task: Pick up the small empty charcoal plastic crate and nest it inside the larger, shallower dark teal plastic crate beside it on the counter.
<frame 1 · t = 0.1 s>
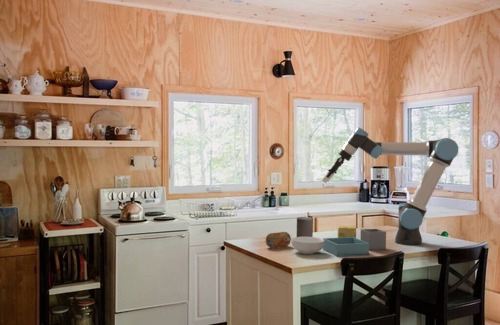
hand: (325, 181, 282), 36 cm above the table, tool tilted 35°, fingers open, 13 cm apart
tin: (278, 247, 268), on the table
cheese: (346, 244, 279), on the table
cereal bowl: (307, 253, 254), on the table
pillar candle: (304, 241, 287), on the table
teal crate: (345, 252, 256), on the table
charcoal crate: (373, 248, 266), on the table
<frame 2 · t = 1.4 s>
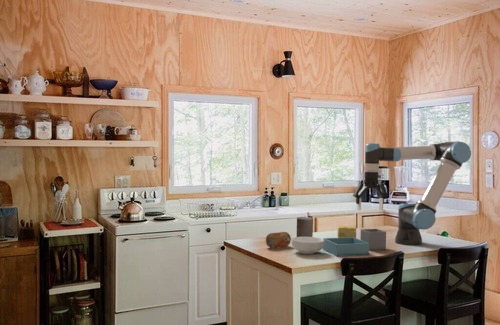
hand: (370, 210, 266), 21 cm above the table, tool pointing down, fingers open, 13 cm apart
nothing on the table moved.
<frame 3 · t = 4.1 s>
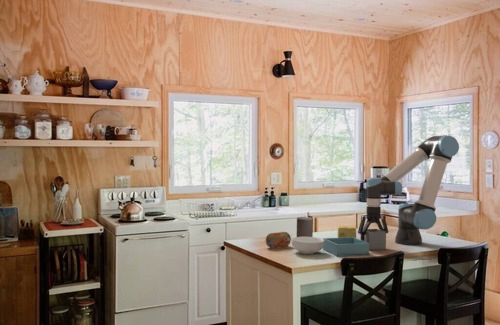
hand: (373, 246, 266), 1 cm above the table, tool pointing down, fingers closed on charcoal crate, 10 cm apart
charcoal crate: (372, 248, 266), on the table, touching gripper
everything else where it was.
when the fingers open (4 cm above the table, at t = 11.0 s): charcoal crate drops 1 cm, resting on teal crate.
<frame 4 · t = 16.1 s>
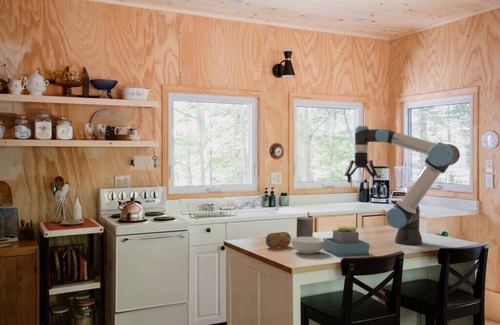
hand: (360, 187, 288), 32 cm above the table, tool pointing down, fingers open, 13 cm apart
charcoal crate: (345, 250, 256), point 1 cm above the table, touching teal crate
everything else where it was.
at the end: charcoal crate inside the target area on the teal crate (0.1 cm from its centre), point 1.0 cm above the teal crate's base; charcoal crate tilted 0°; the gripper is holding nothing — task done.
